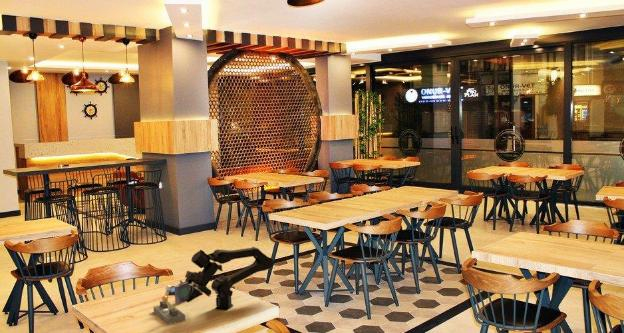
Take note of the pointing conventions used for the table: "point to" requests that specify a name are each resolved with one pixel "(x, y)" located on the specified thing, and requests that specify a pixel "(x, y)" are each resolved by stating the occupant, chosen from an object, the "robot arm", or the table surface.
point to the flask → (181, 292)
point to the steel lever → (167, 291)
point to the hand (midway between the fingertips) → (186, 301)
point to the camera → (172, 291)
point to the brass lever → (167, 303)
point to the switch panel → (168, 313)
